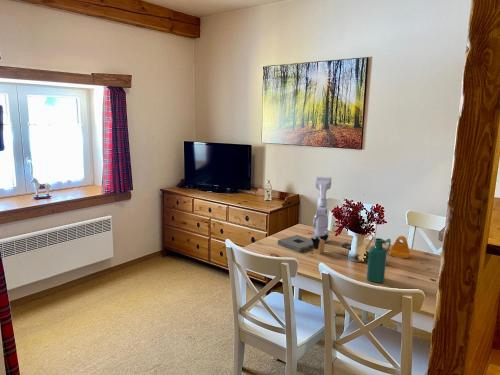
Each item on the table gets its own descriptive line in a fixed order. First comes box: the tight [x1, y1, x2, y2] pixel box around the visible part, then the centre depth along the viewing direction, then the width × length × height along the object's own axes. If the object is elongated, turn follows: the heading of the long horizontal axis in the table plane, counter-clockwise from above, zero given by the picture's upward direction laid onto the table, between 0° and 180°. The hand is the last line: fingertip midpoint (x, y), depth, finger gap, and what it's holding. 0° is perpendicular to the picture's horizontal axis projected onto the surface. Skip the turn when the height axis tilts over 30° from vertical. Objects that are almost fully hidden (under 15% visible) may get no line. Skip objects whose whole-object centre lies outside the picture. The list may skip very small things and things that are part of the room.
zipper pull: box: [340, 242, 369, 264], centre depth 225 cm, size 9×7×25 cm
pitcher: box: [366, 237, 392, 284], centre depth 195 cm, size 10×8×22 cm
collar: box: [277, 234, 314, 253], centre depth 245 cm, size 19×19×3 cm
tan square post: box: [313, 238, 326, 255], centre depth 234 cm, size 4×4×8 cm
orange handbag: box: [388, 235, 411, 259], centre depth 231 cm, size 11×7×12 cm, turn 58°
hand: (319, 247), depth 234 cm, fingers open, 7 cm apart
